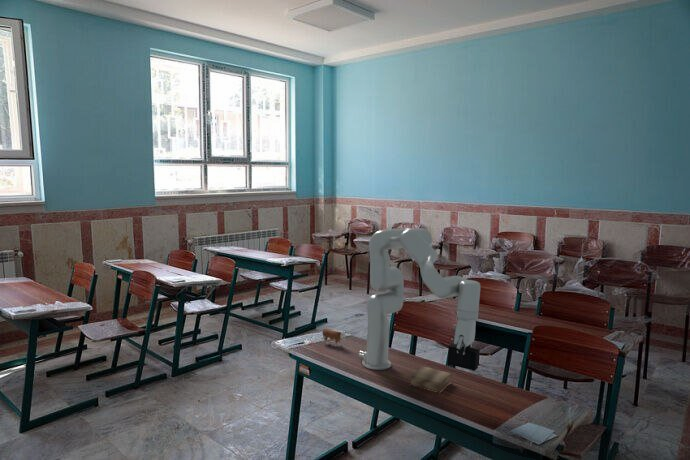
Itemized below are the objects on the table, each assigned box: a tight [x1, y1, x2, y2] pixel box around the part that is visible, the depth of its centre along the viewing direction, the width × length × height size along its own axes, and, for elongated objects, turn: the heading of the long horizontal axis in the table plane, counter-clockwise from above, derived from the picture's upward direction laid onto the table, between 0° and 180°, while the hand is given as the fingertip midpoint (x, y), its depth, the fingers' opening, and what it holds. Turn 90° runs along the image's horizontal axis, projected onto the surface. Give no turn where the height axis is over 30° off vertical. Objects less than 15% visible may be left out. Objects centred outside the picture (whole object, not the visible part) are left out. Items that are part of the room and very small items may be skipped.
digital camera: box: [447, 342, 481, 372], centre depth 181 cm, size 10×5×7 cm, turn 57°
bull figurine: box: [322, 328, 347, 348], centre depth 236 cm, size 4×13×8 cm, turn 57°
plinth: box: [409, 366, 452, 392], centre depth 196 cm, size 13×13×4 cm
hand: (463, 361), depth 181 cm, fingers closed on digital camera, 5 cm apart
